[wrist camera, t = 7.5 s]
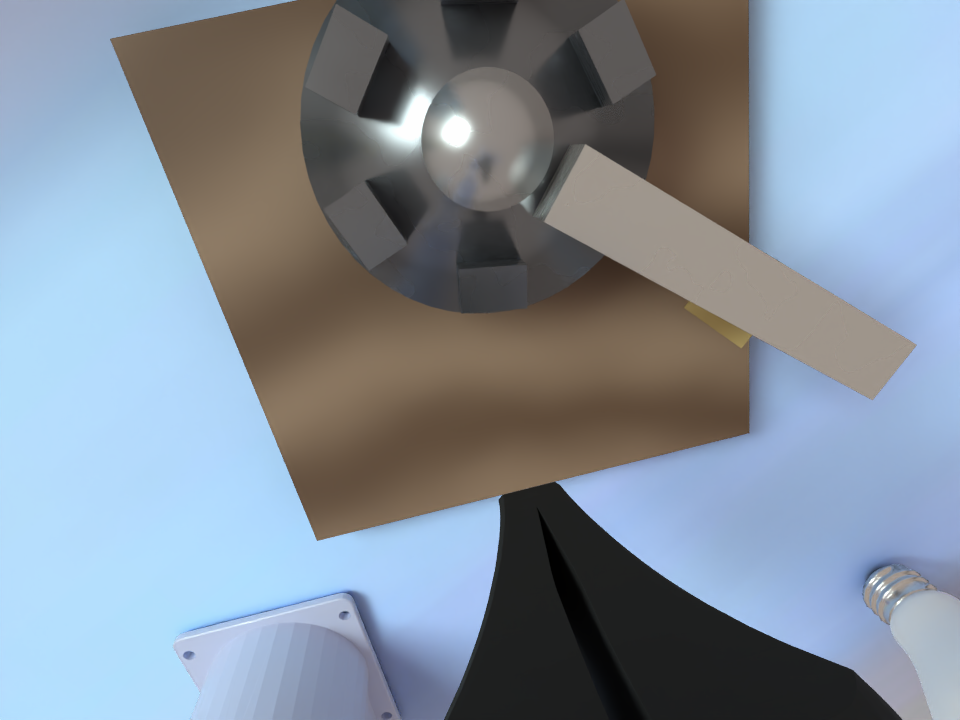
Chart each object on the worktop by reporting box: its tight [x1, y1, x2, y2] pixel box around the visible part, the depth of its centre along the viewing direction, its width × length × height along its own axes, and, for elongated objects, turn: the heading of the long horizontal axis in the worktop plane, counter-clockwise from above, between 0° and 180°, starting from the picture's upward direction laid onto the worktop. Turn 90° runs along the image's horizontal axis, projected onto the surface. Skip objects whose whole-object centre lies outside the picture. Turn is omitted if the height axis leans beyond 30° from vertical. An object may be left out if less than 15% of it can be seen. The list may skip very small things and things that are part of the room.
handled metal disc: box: [300, 0, 916, 400], centre depth 15 cm, size 18×9×4 cm, turn 62°
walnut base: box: [110, 0, 752, 541], centre depth 19 cm, size 18×18×2 cm
